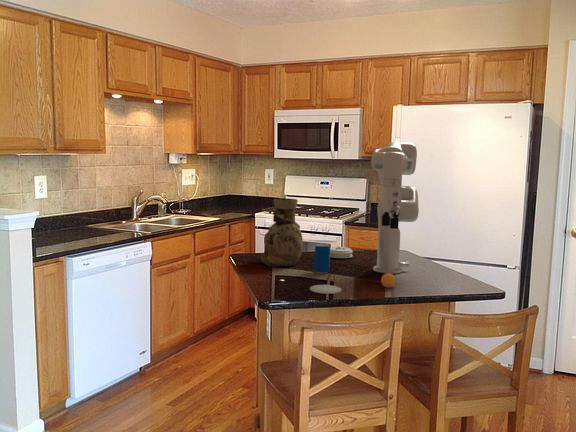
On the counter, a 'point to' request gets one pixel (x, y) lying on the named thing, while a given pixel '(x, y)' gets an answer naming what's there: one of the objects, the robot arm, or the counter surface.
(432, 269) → the counter surface
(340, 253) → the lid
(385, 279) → the ball
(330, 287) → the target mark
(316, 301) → the counter surface
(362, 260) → the counter surface
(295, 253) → the ceramic vessel
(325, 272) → the beverage can
